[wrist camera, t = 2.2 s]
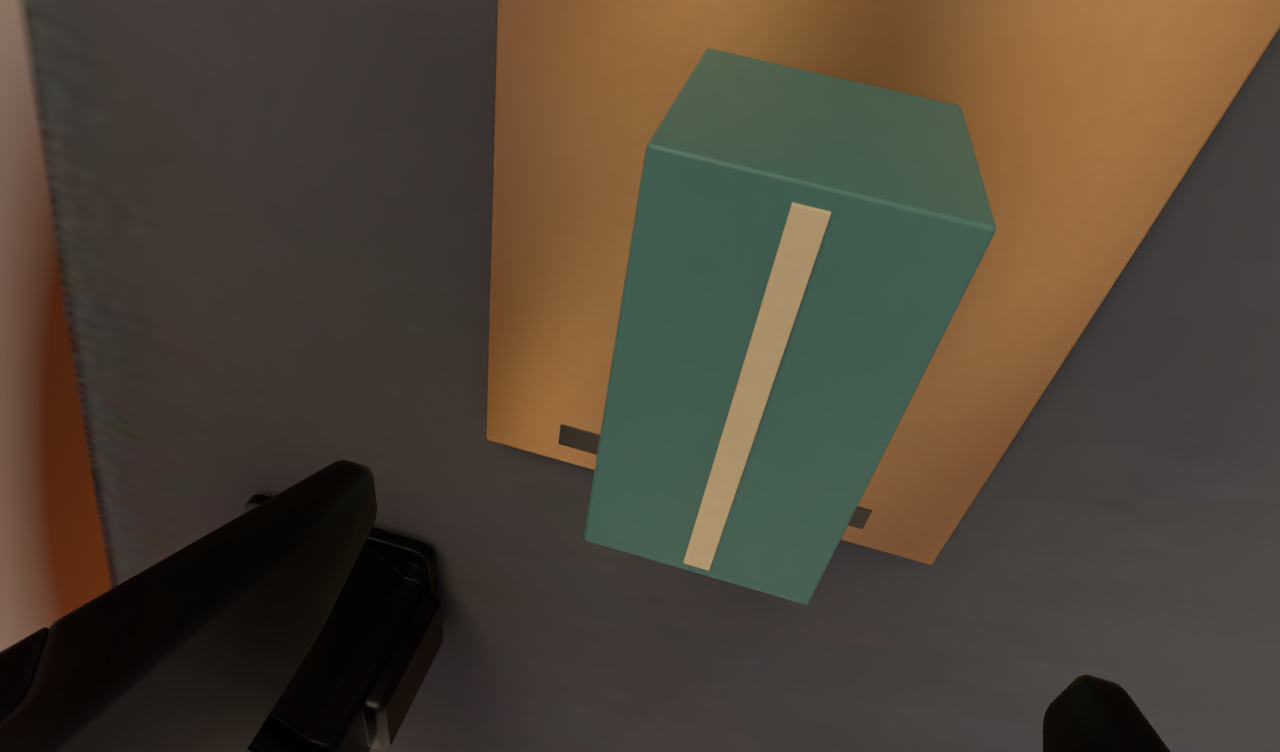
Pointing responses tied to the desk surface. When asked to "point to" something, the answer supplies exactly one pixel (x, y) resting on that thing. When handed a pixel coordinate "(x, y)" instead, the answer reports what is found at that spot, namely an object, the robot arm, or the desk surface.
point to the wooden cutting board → (883, 57)
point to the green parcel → (778, 315)
